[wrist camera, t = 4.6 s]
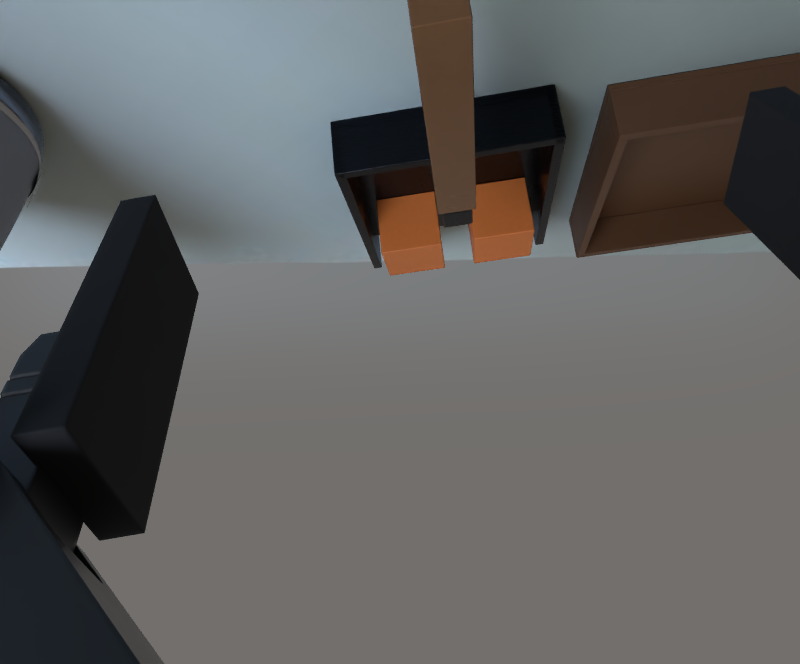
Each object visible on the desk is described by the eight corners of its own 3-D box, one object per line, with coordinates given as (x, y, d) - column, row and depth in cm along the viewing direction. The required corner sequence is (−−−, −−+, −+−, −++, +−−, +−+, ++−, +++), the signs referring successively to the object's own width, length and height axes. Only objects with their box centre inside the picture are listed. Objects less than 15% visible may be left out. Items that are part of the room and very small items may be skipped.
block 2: (465, 186, 44) (473, 239, 43) (525, 176, 44) (534, 230, 42) (466, 213, 48) (474, 263, 47) (521, 205, 48) (530, 255, 46)
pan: (238, -118, 23) (244, 57, 21) (600, -193, 22) (650, -16, 20) (370, 227, 50) (379, 321, 48) (535, 202, 49) (553, 297, 47)
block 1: (376, 199, 45) (381, 253, 43) (434, 190, 44) (441, 244, 43) (384, 226, 49) (390, 275, 47) (438, 218, 48) (445, 268, 47)
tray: (607, 84, 36) (619, 135, 35) (864, 41, 35) (885, 93, 34) (568, 220, 53) (576, 258, 52) (743, 194, 51) (754, 232, 50)
